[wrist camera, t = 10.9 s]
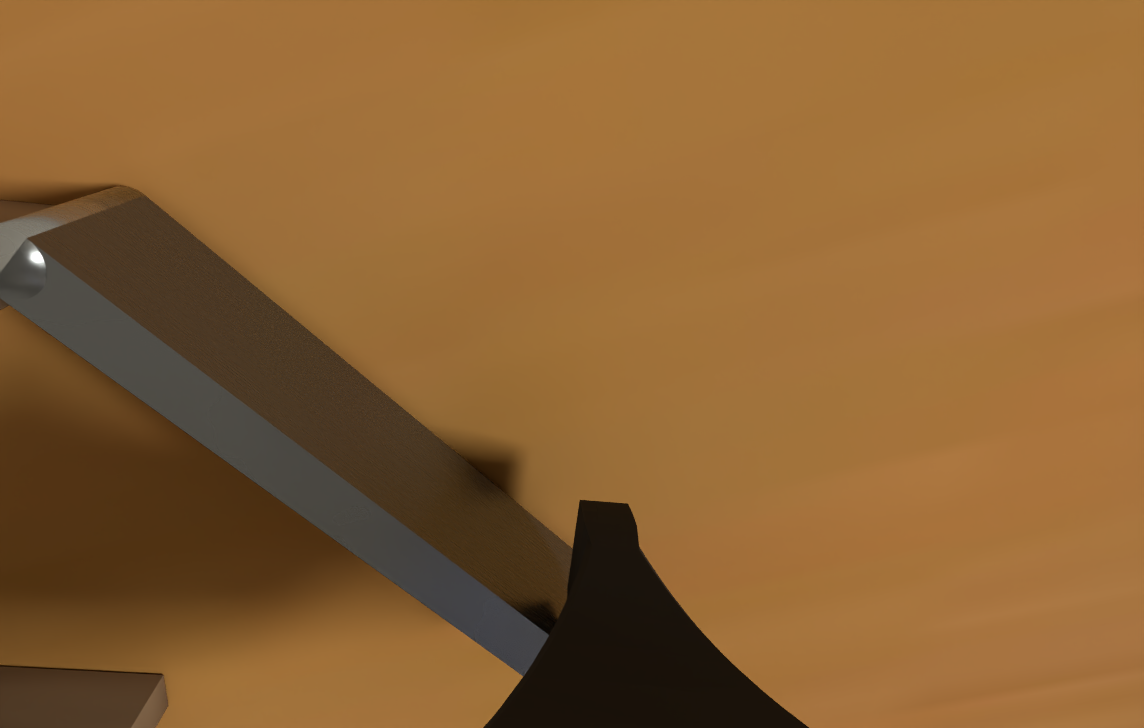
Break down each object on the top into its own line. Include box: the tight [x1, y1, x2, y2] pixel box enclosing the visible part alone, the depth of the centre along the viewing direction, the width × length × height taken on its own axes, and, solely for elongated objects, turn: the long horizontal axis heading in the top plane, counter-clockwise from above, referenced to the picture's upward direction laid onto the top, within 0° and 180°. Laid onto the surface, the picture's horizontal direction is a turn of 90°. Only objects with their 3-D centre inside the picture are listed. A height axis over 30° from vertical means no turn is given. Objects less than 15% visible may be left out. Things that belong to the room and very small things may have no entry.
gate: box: [0, 186, 573, 676], centre depth 13 cm, size 12×1×3 cm, turn 44°
